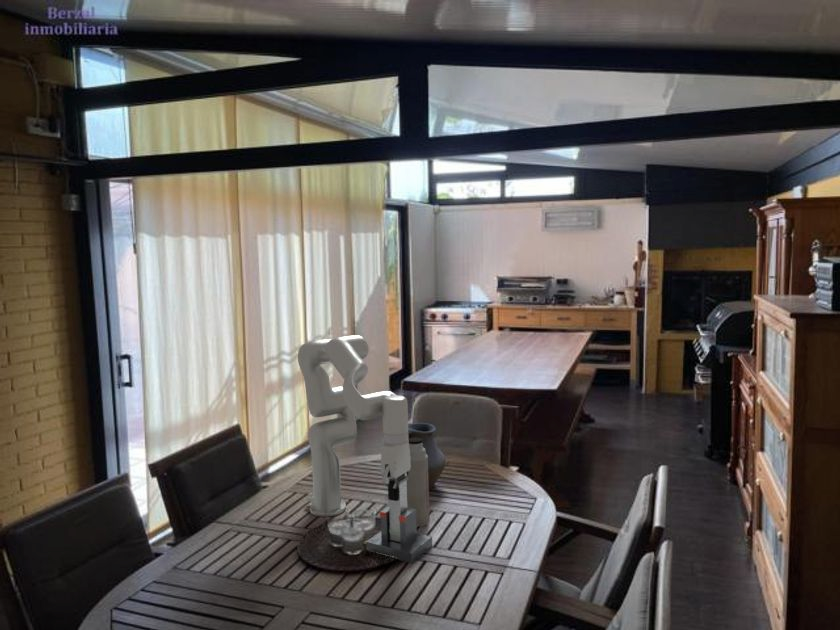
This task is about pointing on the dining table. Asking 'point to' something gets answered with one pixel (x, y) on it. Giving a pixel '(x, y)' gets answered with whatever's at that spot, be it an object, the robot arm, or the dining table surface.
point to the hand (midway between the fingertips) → (397, 496)
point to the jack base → (410, 540)
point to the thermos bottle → (418, 482)
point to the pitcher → (429, 449)
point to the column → (398, 508)
